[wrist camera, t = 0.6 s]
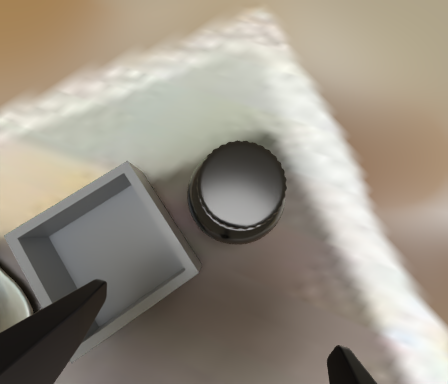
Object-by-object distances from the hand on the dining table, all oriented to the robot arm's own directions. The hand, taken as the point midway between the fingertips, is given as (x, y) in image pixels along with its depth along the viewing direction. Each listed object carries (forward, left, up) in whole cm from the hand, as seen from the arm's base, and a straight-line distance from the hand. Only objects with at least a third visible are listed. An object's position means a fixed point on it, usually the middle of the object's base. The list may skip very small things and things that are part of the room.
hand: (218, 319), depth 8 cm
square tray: (-7, +6, -14) cm, 17 cm away
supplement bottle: (+4, +4, -14) cm, 15 cm away
